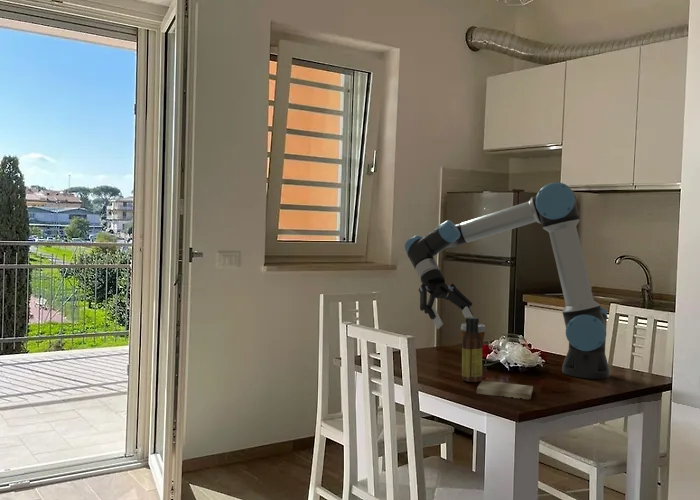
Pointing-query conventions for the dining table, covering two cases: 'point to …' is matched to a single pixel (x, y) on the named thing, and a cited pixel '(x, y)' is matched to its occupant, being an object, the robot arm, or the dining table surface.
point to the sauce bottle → (472, 352)
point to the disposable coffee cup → (480, 329)
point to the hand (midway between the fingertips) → (456, 325)
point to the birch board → (505, 389)
